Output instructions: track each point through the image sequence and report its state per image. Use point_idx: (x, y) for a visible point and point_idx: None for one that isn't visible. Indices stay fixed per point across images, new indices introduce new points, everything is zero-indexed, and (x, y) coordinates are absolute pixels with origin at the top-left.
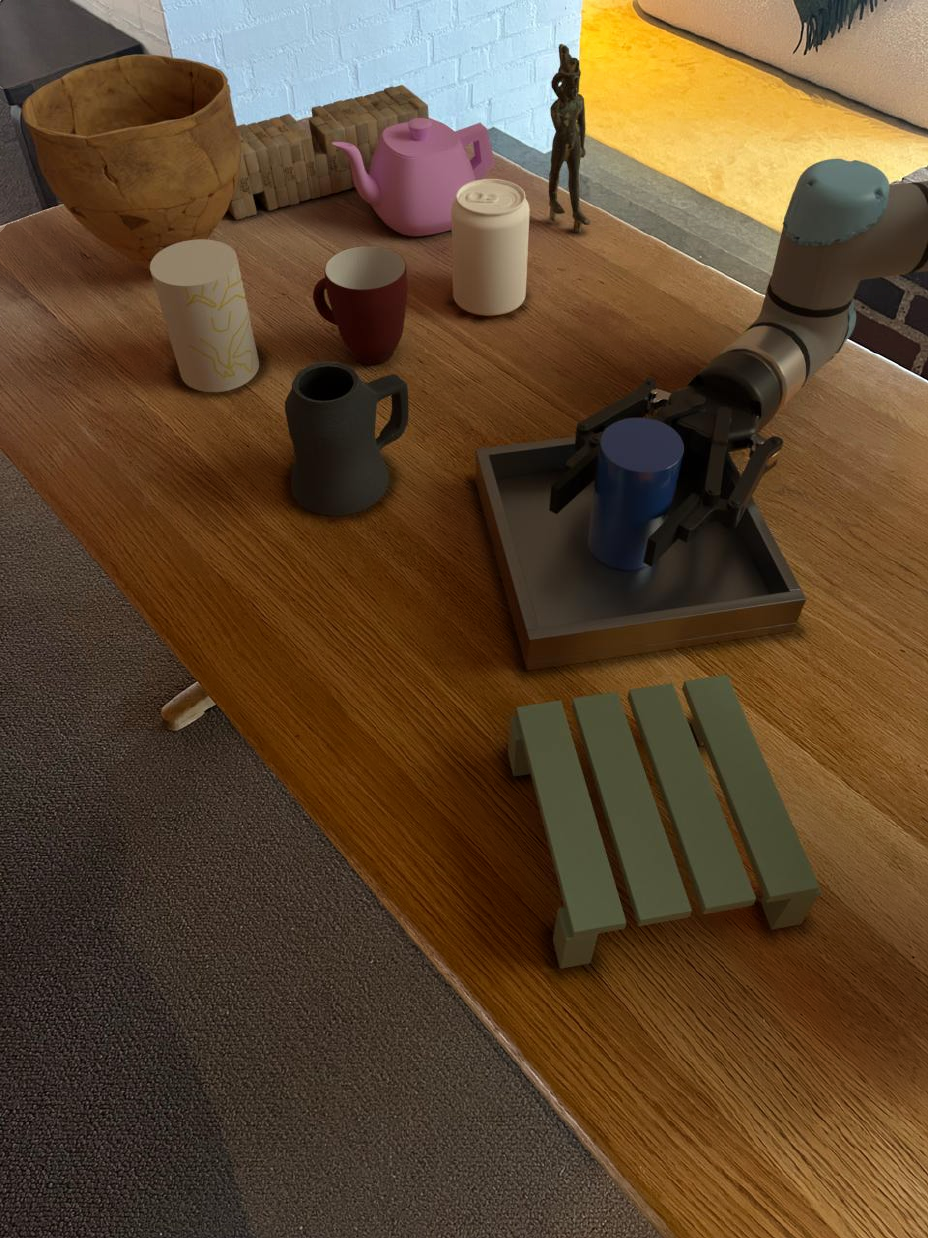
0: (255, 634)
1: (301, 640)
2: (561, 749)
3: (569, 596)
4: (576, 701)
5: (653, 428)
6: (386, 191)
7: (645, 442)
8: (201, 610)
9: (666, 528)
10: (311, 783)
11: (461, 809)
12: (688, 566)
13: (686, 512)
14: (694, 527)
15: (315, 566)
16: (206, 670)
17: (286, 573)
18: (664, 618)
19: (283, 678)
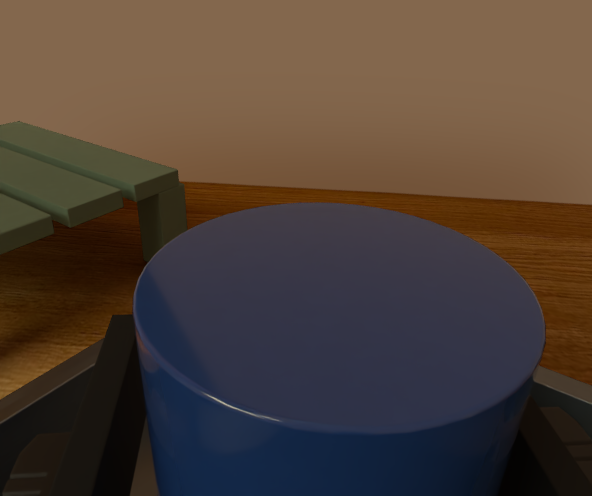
0: (502, 225)
1: (469, 237)
2: (101, 165)
3: None
4: (114, 189)
5: (388, 365)
6: None
7: (331, 286)
8: (561, 218)
9: (107, 358)
10: (314, 192)
11: (191, 220)
12: None
13: (67, 448)
14: (22, 454)
15: (586, 284)
16: (479, 199)
17: (587, 266)
18: (50, 371)
19: (431, 217)
